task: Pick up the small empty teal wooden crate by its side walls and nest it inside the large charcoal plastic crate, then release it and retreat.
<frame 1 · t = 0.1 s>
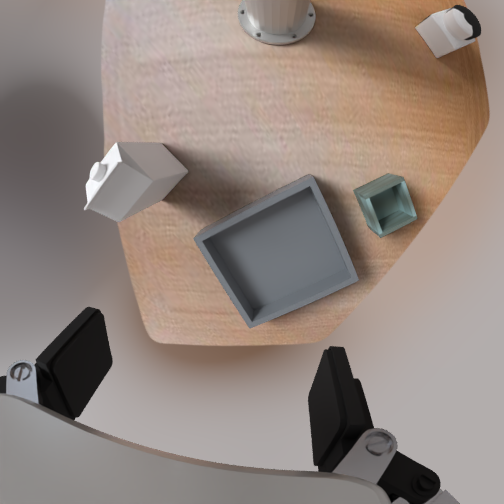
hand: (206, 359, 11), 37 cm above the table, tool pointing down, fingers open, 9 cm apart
milk carton: (161, 171, 45), on the table
charcoal crate: (278, 249, 48), on the table
medicine bottle: (435, 38, 32), on the table
teal crate: (378, 200, 44), on the table
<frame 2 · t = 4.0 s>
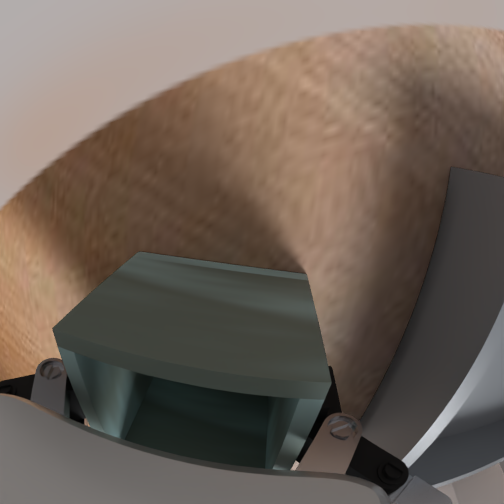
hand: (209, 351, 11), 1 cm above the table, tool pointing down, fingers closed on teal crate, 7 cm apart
milk carton: (460, 471, 19), on the table
teal crate: (214, 333, 13), on the table, touching gripper
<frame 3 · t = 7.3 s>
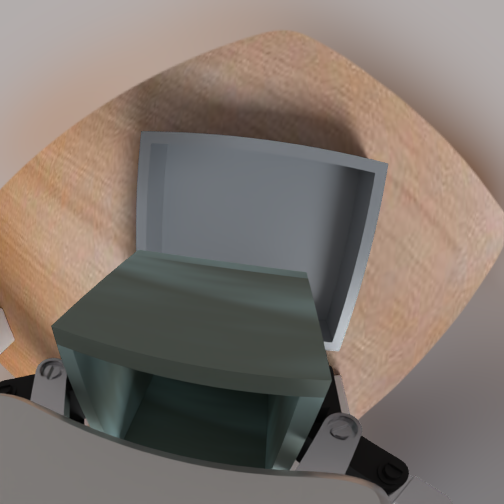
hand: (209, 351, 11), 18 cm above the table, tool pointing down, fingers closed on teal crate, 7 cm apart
milk carton: (313, 393, 35), on the table
charcoal crate: (253, 234, 28), on the table
medicine bottle: (0, 321, 37), on the table
teal crate: (214, 332, 13), point 17 cm above the table, touching gripper
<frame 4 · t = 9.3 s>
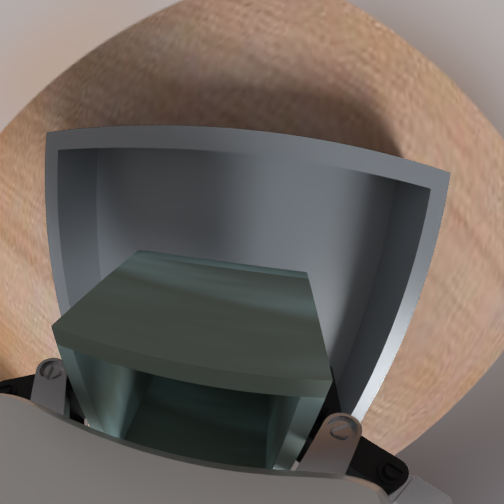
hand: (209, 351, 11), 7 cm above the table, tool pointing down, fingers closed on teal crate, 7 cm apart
charcoal crate: (229, 280, 18), on the table
teal crate: (214, 332, 13), point 6 cm above the table, touching gripper
when the fingers open (4 cm above the table, at t = 11.0 s): teal crate drops 1 cm, resting on charcoal crate.
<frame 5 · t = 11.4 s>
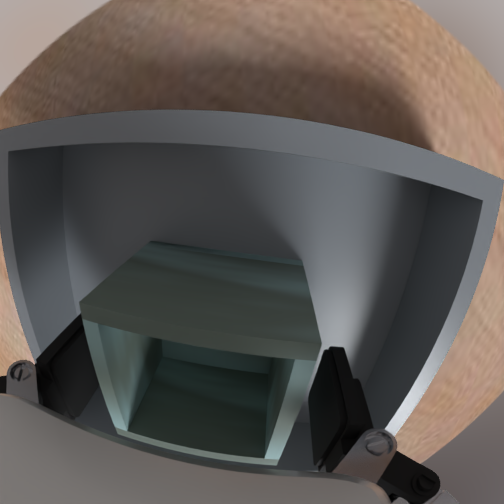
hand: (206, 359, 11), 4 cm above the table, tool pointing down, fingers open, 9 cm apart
charcoal crate: (222, 306, 15), on the table
teal crate: (219, 316, 14), point 1 cm above the table, touching charcoal crate
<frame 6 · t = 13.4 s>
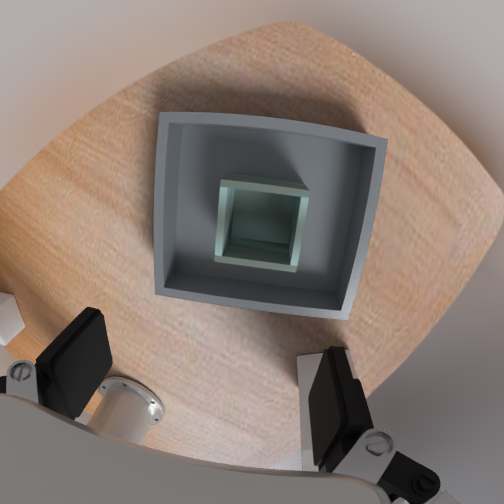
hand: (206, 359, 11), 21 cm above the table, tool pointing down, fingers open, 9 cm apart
milk carton: (323, 369, 37), on the table
charcoal crate: (264, 209, 30), on the table
medicine bottle: (11, 308, 40), on the table
teal crate: (263, 211, 29), point 1 cm above the table, touching charcoal crate
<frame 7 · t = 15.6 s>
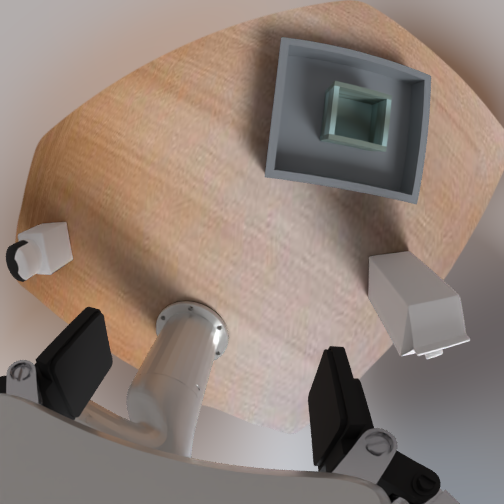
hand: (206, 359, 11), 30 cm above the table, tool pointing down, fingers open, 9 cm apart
milk carton: (388, 273, 41), on the table
charcoal crate: (346, 121, 34), on the table
medicine bottle: (57, 240, 44), on the table
teal crate: (348, 120, 33), point 1 cm above the table, touching charcoal crate
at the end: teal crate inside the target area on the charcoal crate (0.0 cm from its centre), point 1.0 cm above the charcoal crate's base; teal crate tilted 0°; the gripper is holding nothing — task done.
